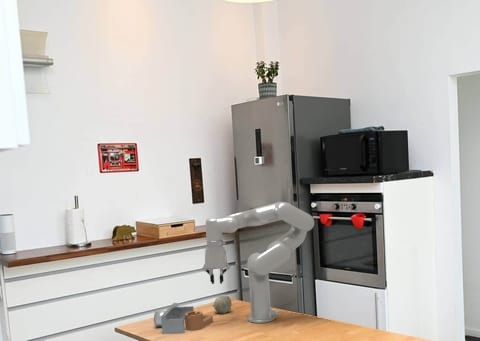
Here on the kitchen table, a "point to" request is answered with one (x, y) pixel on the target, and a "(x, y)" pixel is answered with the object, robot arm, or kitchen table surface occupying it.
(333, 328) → the kitchen table surface
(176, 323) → the steel u-channel
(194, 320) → the bracket
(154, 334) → the kitchen table surface
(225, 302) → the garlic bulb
